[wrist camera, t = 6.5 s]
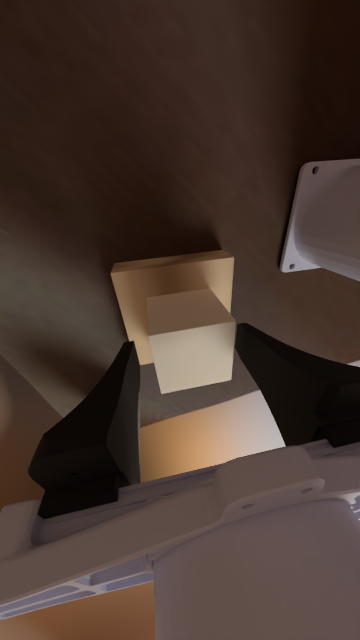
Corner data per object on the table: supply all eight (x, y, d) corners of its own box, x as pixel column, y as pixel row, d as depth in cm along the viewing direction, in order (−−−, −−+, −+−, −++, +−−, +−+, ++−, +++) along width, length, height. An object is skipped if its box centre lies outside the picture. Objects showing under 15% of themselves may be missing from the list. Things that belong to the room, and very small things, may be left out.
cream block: (209, 287, 15) (235, 321, 11) (210, 337, 18) (231, 379, 14) (146, 297, 15) (148, 336, 11) (156, 347, 17) (161, 393, 13)
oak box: (220, 248, 17) (234, 257, 14) (217, 331, 22) (227, 349, 19) (115, 261, 16) (110, 273, 13) (136, 345, 21) (136, 365, 18)
